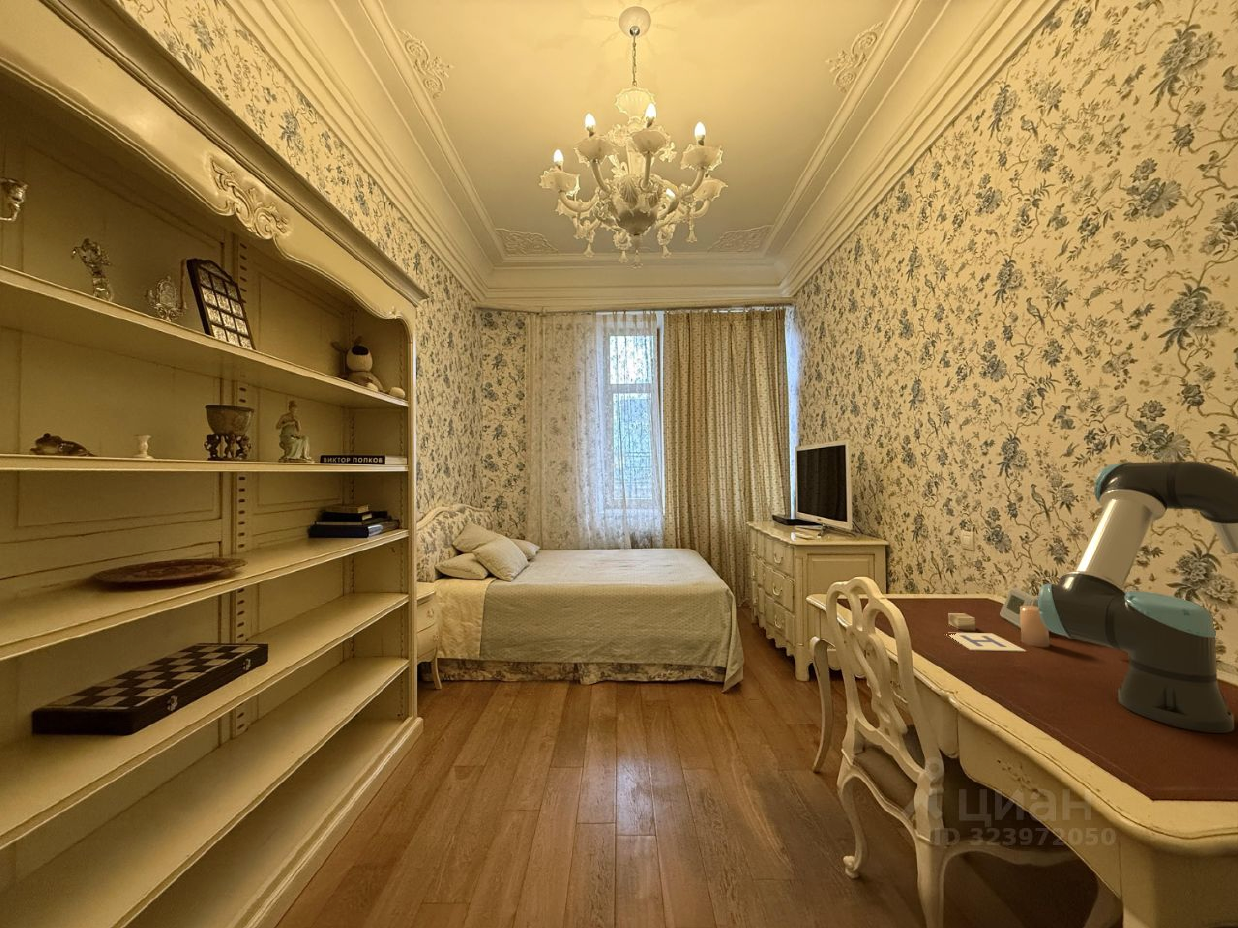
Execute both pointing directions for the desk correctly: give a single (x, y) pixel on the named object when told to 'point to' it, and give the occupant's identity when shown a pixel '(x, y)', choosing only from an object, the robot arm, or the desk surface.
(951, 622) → the ash block
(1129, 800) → the desk surface
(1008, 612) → the digital clock
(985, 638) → the letter card
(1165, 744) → the desk surface
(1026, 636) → the terracotta canister
